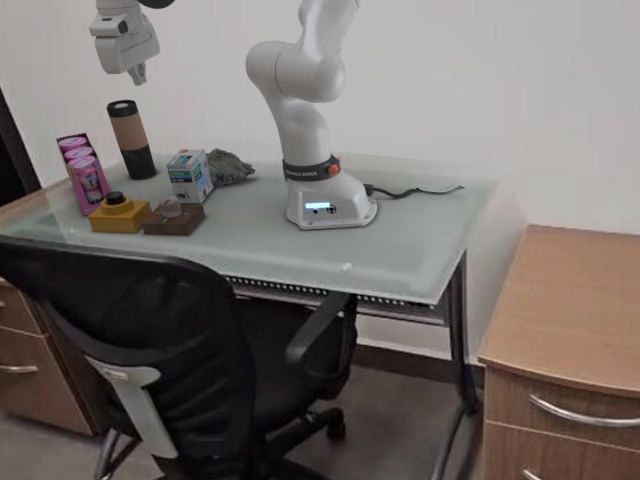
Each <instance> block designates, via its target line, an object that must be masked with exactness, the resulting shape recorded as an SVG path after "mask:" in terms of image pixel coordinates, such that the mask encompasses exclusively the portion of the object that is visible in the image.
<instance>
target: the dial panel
mask: <svg viewBox="0 0 640 480" xmlns="http://www.w3.org/2000/svg"><path fill="white" fill-rule="evenodd" d="M180 207H181V210H182V213H181V214H180V215H179V216H177V217H173V218H165V217H163V215H162V211H161V208H160V205H158V206H157V207H156V208H155V209H154V210H152V213H151V214H150V215H149V216H148V217H147V218H146V219H145V220H144V221H143V222H141V225H142V227H141V228H142V230H143V233H144V235H156V236H157V235H158V236H159V235H160V236H161V235H162V236H190V234H191V233H192V232H193V231H194V230H195V229H196V228H197V226H198V225H199V224H200V223H201V222H202V221H203V220H204V219H205V218H206V213H205V209H204V206H203V205H202V204H198V205H197V204H180Z"/></svg>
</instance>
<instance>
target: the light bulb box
mask: <svg viewBox="0 0 640 480" xmlns="http://www.w3.org/2000/svg"><path fill="white" fill-rule="evenodd" d="M206 153H207V152H206V150H205V149H204V148H201V149H200V148H199V149H197V148H196V149H195V148H194V149H192V148H191V149H189V148H188V149H187V148H181V149H179V150H178V151H177V153H176V154H174V156H173V157H172V158H171V159H170V160H168V162H167V163H166V164H165V166H166V170H167V173H168V177H169V180H170V181H169V182H170V184H171V188H172V190H173V194H174V197H177V198H178V200H179V204H202V203H203V202H204V201H205V199H206V198H207V196H208V195H210V193H211V192H212V190H213V189H214V187H213V185H212V183H211V180H210V174H209V166H208V161H207V157H206Z"/></svg>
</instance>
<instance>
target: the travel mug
mask: <svg viewBox="0 0 640 480" xmlns="http://www.w3.org/2000/svg"><path fill="white" fill-rule="evenodd" d="M105 109H106V110H107V114H108V118H109V120H110V124H111V127H112V130H113V134H114V136H115V140H116V143H117V146H118V148H119V151H120V154H121V157H122V159H123V163H124V166H125V167H126V170H127V173H128V176H129V178H130V179H132V180H137V181H139V180H147V179H149V178H152V177H154V176H155V175H156V174H157V170H156V167H155V163H154V162H155V161H154V159H153V155H152V150H151V147H150V143H149V141H148V137H147V134H146V130H145V127H144V125H143V120H142V118H141V115H140V112H139V108H138V105H137V102H136V100H133V99H120V100H114V101H112V102H109V103H108V104H107V106H106V107H105Z"/></svg>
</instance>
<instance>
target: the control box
mask: <svg viewBox="0 0 640 480" xmlns="http://www.w3.org/2000/svg"><path fill="white" fill-rule="evenodd" d="M123 195H124V198H125V202H123V203H121V204H118V205H108V204H107V201H106V199H104V200H103V201H102V202H101V206H99V207H98V208H97V209H96V210H95V211H93V212H92V213H91V214H89V215H86V216H87V219H88V222H89V225H90V227H91V230H92V232H103V233H104V232H105V233H129V234H130V233H132V234H136V233H138V231H139V230H141V228H142V225H141V222H143V221H144V220H145V219H146V218H147V217H148V216H149V215H150V214H151V213H152V212H153V209H152V207H151V204H150V200H133V198H132V196H130V195H128V194H123Z"/></svg>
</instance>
